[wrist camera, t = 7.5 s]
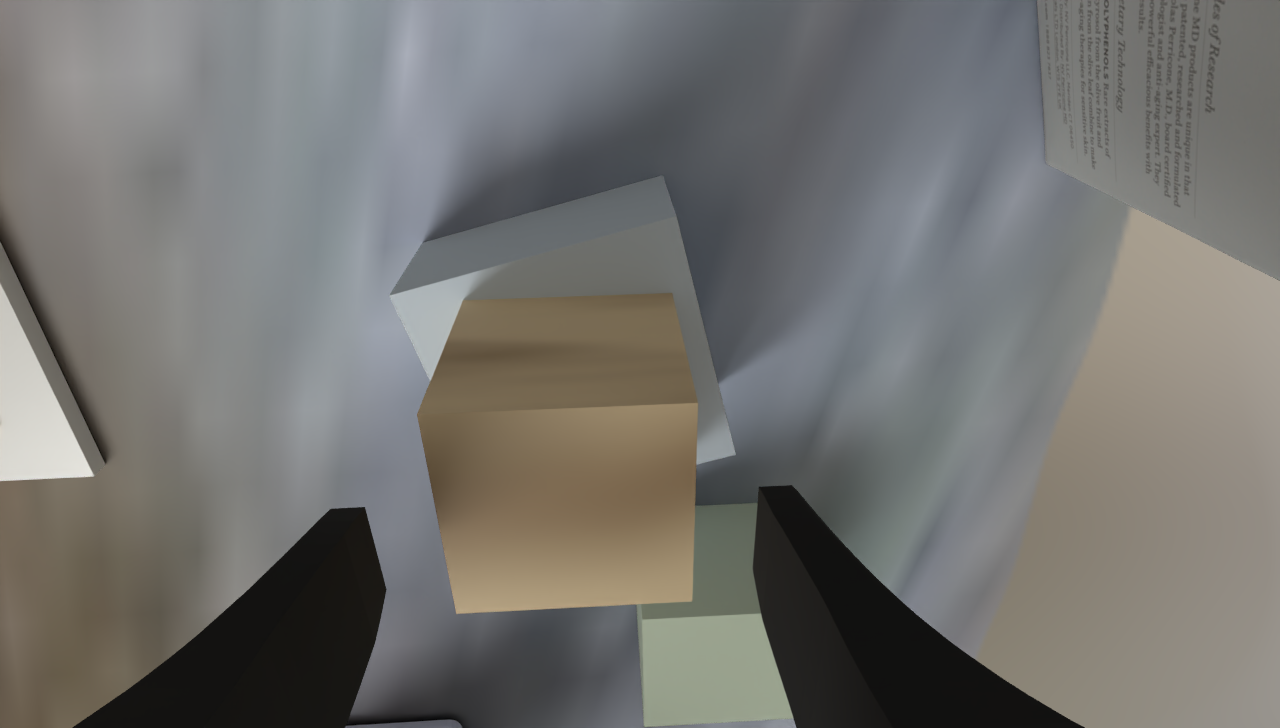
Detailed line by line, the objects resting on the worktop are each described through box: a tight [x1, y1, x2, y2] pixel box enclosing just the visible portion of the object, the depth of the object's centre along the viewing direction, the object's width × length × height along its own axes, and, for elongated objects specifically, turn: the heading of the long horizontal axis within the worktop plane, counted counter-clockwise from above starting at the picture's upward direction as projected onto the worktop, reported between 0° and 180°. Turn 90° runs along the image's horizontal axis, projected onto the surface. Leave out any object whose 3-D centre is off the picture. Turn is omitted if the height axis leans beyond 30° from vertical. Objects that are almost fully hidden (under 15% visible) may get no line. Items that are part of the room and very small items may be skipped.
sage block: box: [636, 503, 793, 727], centre depth 24 cm, size 5×5×5 cm
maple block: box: [417, 293, 698, 614], centre depth 16 cm, size 5×5×5 cm
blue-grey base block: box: [389, 175, 736, 465], centre depth 20 cm, size 7×7×4 cm
